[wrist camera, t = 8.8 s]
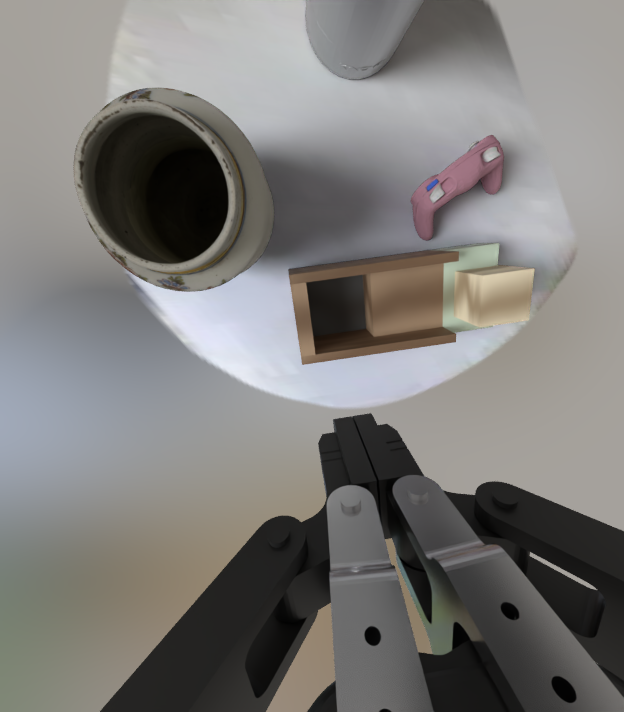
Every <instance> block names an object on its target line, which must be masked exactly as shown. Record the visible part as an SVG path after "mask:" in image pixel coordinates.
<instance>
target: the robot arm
mask: <svg viewBox="0 0 624 712" xmlns="http://www.w3.org/2000/svg"><path fill="white" fill-rule="evenodd" d="M423 1H424V0H306V13H305V17H306V28H307V33H308V36H309V40H310V43H311V45H312V48H313V50H314V52H315V54H316V55H317V57H318V58H319V60H320V61H321V63H322V64H323V65H324V66H325V67H326V68H327V69H329V70H330V71H331V72H333V73H334V74H336V75H338V76H340V77H343V78H347V79H362V78H366V77H369V76H371V75H373V74H375V73H376V72H378V71H379V70H380V69H381V68H383V67H384V66H385V65H386V64H387V62H388V61H389V60H390V58H391V57H392V56H393V54H394V52H395V50H396V49H397V47H398V45H399V43H400V42H401V40H402V38H403V36H404V35H405V33H406V31H407V30H408V28H409V26H410V24H411V23H412V21H413V19H414V17H415V16H416V14H417V12H418V10H419V9H420V7H421V5H422V3H423ZM333 424H334V433H328V434H323V435H322V436H321V438H320V441H319V443H318V444H319V452H320V458H321V465H322V472H323V478H324V485H325V491H326V497H327V499H326V502H325V505H324V507H323V508H322V509H321V510H320V511H319V512H318V513H317V514H316V515H315V516H313V517H311V518H309V519H307V520H305V521H303V522H300V521H299V520H298V519H296V518H294V517H291V516H278V517H275V518H272V519H270V520H268V521H266V522H265V523H264V524H263V525H262V526H261V527H260V528H259V529H258V530H257V531H256V532H255V533H254V534H253V536H252V537H251V538H250V539H249V540H248V541H247V543H246V544H245V545H244V546H243V547H242V548H241V550H240V551H239V552H238V553H237V554H236V555H235V557H234V558H233V559H232V560H231V561H230V562H229V563H228V564H227V566H226V567H225V568H224V569H223V570H222V572H221V573H220V574H219V575H218V576H217V577H216V578H215V579H214V581H213V582H212V583H211V584H210V585H209V586H208V588H207V589H206V590H205V591H204V592H203V593H202V594H201V596H200V597H199V598H198V599H197V600H196V601H195V603H194V604H193V605H192V606H191V607H190V608H189V610H188V611H187V612H186V613H185V614H184V615H183V616H182V617H181V619H180V620H179V621H178V622H177V623H176V624H175V626H174V627H173V628H172V629H171V630H170V631H169V632H168V634H167V635H166V636H165V637H164V638H163V639H162V641H161V642H160V643H159V644H158V645H157V646H156V648H155V649H154V650H153V651H152V652H151V653H150V654H149V656H148V657H147V658H146V659H145V660H144V661H143V662H142V664H141V665H140V666H139V667H138V668H137V669H136V671H135V672H134V673H133V674H132V675H131V676H130V678H129V679H128V680H127V681H126V682H125V683H124V684H123V686H122V687H121V688H120V689H119V690H118V691H117V692H116V694H115V695H114V696H113V697H112V698H111V699H110V701H109V702H108V703H107V704H106V705H105V706H104V707H103V709H102V710H101V711H100V712H266V710H267V708H268V706H269V705H270V703H271V701H272V699H273V697H274V695H275V693H276V691H277V689H278V688H279V686H280V684H281V682H282V680H283V679H284V677H285V674H286V673H287V671H288V669H289V667H290V665H291V663H292V662H293V660H294V658H295V656H296V654H297V652H298V650H299V649H300V647H301V645H302V643H303V641H304V639H305V638H306V636H307V634H308V632H309V630H310V628H311V626H312V625H313V623H314V621H315V619H316V616H317V613H318V610H319V609H321V608H322V607H324V606H326V605H327V604H329V603H331V611H332V629H333V646H334V662H335V679H336V680H335V681H334V682H333V683H332V684H331V685H330V686H328V687H327V688H326V689H325V690H324V691H323V692H322V693H321V694H320V696H319V697H318V698H317V699H316V700H315V702H314V703H313V704H312V706H311V707H310V709H309V710H308V712H624V531H622V530H619V529H617V528H614V527H612V526H610V525H607V524H605V523H602V522H600V521H598V520H595V519H593V518H590V517H588V516H585V515H583V514H581V513H578V512H576V511H573V510H571V509H569V508H566V507H564V506H561V505H559V504H557V503H554V502H552V501H549V500H547V499H545V498H542V497H540V496H537V495H535V494H533V493H530V492H528V491H525V490H523V489H520V488H518V487H516V486H513V485H510V484H507V483H503V482H486V483H483V484H481V485H480V486H479V487H478V488H477V490H476V493H475V495H467V494H456V493H450V492H446V491H443V490H442V489H441V487H440V486H439V485H438V484H437V483H436V482H435V481H433V480H431V479H429V478H427V477H425V476H424V475H423V473H422V472H421V470H420V468H419V467H418V465H417V463H416V462H415V460H414V458H413V457H412V455H411V453H410V452H409V450H408V449H407V447H406V445H405V443H404V442H403V441H402V438H401V437H400V435H399V433H398V432H397V430H395V429H394V428H392V427H391V426H389V425H388V424H384V425H377V423H376V421H375V419H374V417H373V416H372V414H364V415H357V416H353V417H345V418H339V419H334V420H333ZM388 538H392V540H393V542H394V545H395V548H396V561H397V564H398V567H399V569H400V572H401V574H402V576H403V578H404V581H405V583H406V585H407V588H408V590H409V592H410V595H411V597H412V599H413V601H414V604H415V606H416V608H417V611H418V613H419V615H420V618H421V620H422V622H423V624H424V627H425V629H426V632H427V635H428V638H429V641H430V645H431V649H432V653H433V654H427V653H419V652H418V650H417V647H416V643H415V639H414V635H413V631H412V627H411V624H410V620H409V616H408V612H407V608H406V605H405V601H404V597H403V593H402V590H401V586H400V582H399V578H398V575H397V571H396V569H395V566H394V565H391V561H390V558H389V554H388V550H387V546H386V542H385V539H388ZM530 552H532V553H533V554H535V555H537V556H539V557H541V558H543V559H545V560H547V561H548V562H550V563H552V564H554V565H556V566H558V567H560V568H562V569H563V570H565V571H567V572H569V573H571V574H573V575H575V576H577V577H579V578H580V579H582V580H584V581H586V582H588V583H589V584H591V585H593V586H594V587H595V588H596V589H597V590H594V589H590V588H588V587H586V586H584V585H582V584H580V583H578V582H576V581H575V580H573V579H571V578H569V577H567V576H565V575H563V574H562V573H560V572H558V571H556V570H554V569H552V568H550V567H549V566H547V565H545V564H543V563H541V562H539V561H538V560H536V559H534V558H532V557H530V556H529V555H530ZM594 661H595V662H594ZM597 663H598V664H597Z"/></svg>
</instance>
